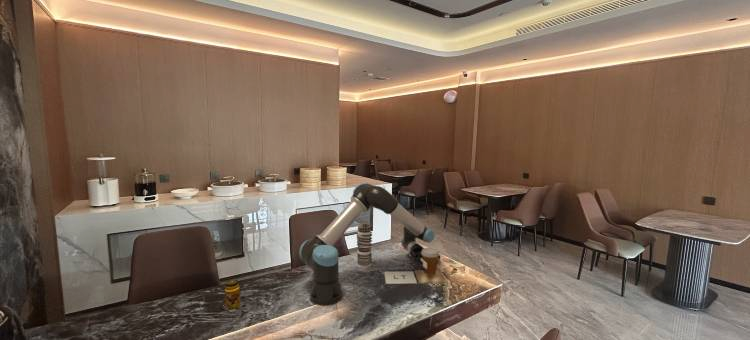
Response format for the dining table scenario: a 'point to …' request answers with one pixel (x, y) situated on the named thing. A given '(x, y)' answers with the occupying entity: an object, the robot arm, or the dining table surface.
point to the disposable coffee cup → (430, 260)
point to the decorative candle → (364, 245)
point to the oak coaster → (429, 277)
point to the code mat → (400, 277)
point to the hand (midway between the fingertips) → (434, 264)
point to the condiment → (232, 294)
